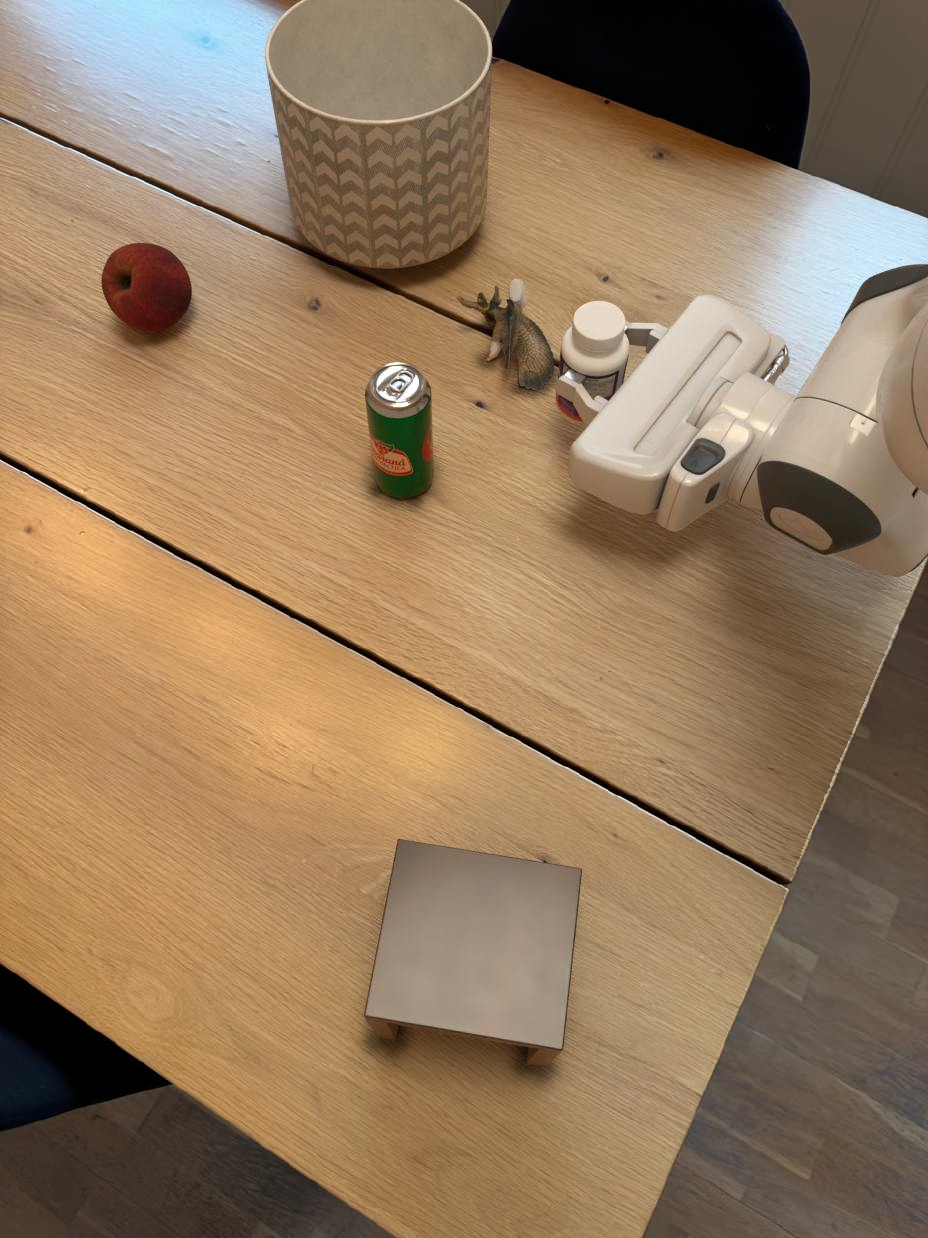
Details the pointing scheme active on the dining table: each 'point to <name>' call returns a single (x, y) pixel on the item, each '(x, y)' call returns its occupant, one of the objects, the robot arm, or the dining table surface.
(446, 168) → the planter
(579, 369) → the pill bottle
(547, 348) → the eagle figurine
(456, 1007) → the small side table
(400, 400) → the soda can
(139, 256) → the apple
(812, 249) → the dining table surface
